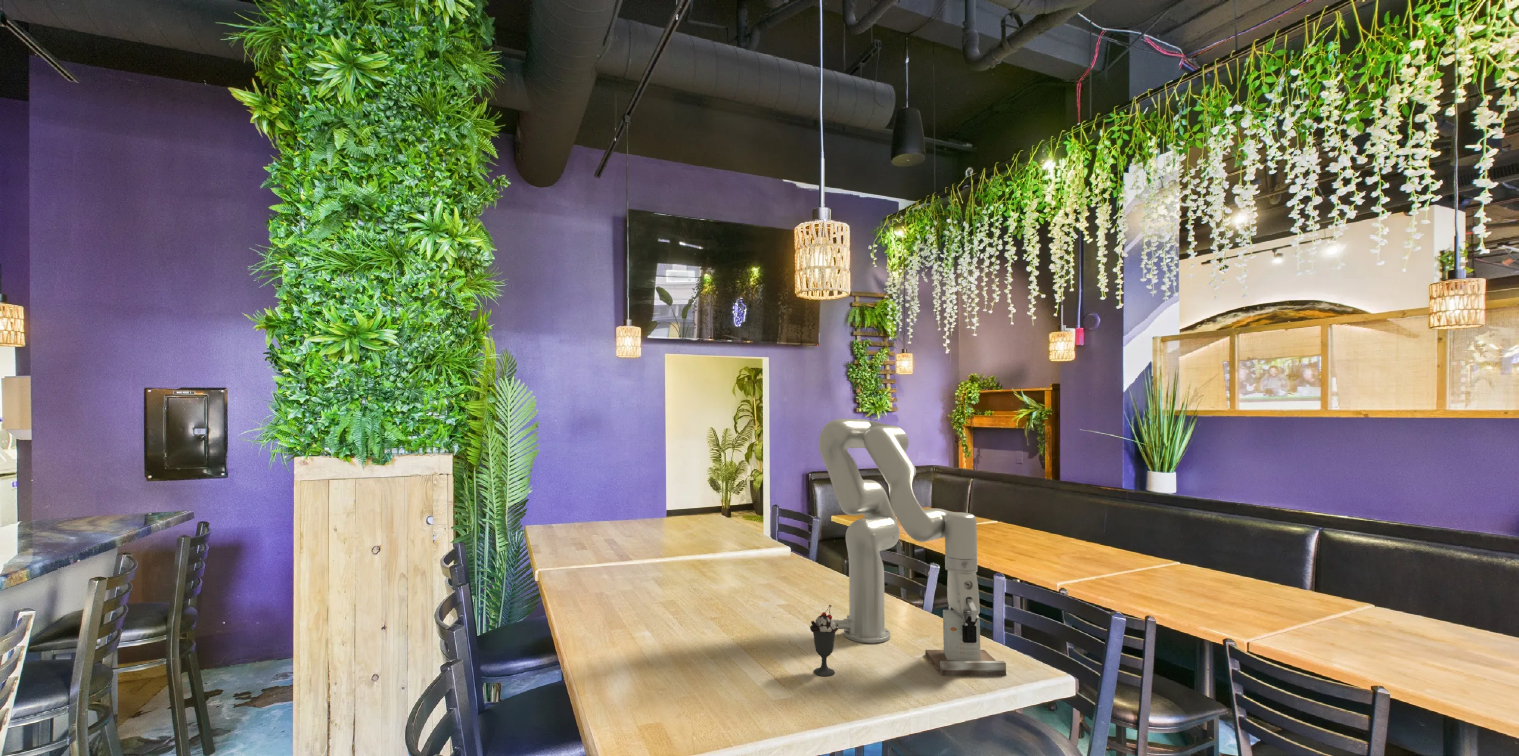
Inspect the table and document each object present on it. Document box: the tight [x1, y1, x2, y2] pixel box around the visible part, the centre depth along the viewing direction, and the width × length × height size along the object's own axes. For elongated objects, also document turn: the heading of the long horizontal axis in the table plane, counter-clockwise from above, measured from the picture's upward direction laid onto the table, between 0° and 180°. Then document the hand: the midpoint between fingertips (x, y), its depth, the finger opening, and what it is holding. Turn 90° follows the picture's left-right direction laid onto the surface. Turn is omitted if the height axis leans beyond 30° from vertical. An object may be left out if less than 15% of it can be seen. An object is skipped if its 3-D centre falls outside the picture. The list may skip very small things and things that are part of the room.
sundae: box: [809, 604, 839, 677], centre depth 145 cm, size 7×7×15 cm
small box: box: [942, 609, 981, 661], centre depth 152 cm, size 8×6×10 cm
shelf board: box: [924, 649, 1007, 676], centre depth 150 cm, size 15×13×3 cm
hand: (962, 635), depth 152 cm, fingers open, 9 cm apart
